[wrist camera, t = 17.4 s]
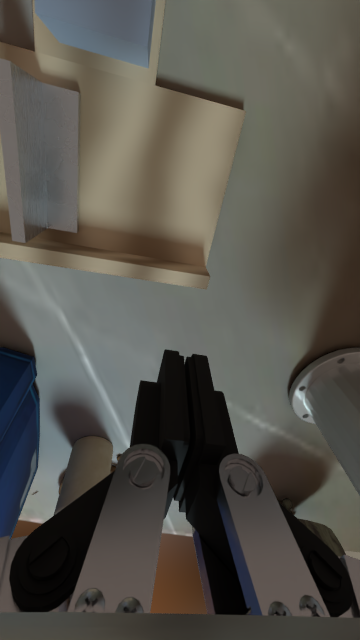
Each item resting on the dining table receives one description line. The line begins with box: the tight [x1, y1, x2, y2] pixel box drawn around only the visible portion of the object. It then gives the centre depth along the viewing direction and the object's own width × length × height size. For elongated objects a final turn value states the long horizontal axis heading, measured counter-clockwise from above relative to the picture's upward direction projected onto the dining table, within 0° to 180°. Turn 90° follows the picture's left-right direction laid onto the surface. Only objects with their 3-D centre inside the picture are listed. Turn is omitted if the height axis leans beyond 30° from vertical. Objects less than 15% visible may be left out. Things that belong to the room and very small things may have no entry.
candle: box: [54, 436, 113, 515], centre depth 34 cm, size 6×6×10 cm
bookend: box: [0, 58, 81, 243], centre depth 18 cm, size 3×9×5 cm, turn 169°
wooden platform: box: [0, 0, 246, 289], centre depth 16 cm, size 24×24×6 cm
